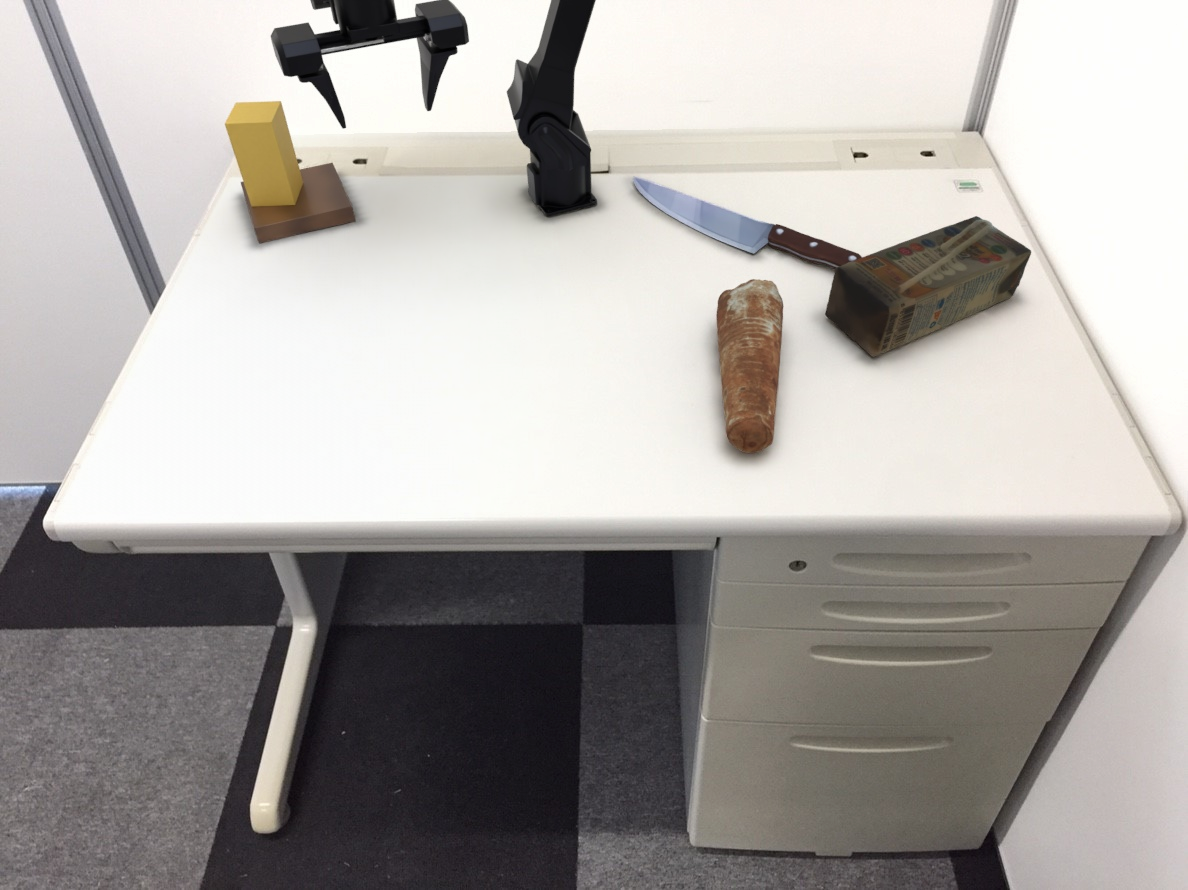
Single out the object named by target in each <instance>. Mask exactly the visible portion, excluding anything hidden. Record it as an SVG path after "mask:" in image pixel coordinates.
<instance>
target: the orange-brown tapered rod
mask: <svg viewBox="0 0 1188 890" xmlns="http://www.w3.org/2000/svg"><path fill="white" fill-rule="evenodd" d="M715 315H716V328H717V331H716V332H717V333H716V335H717V345H718V346H717V347H718V353H719V354H718V355H719V357H718V358H719V359H718V361H719V368H720V383H721V397H722V404H723V405H722V406H723V412H724V413H723V415H724V422H725V435H726V439H727V441H728V442H729V444H731V445H732V446H733V447H734V448H735V449H736V450H739V451H740V452H743V453H746V454H755V453H758V452H762V451H764V450H765V449H767V448H768V447H769V446H771V445H772V444H773V440H774V435H775V426H776V425H775V424H776V412H777V399H778V389H779V377H780V376H779V375H780V364H781V351H782V350H781V348H782V336H783V323H784V321H783V320H784V300H783V298H782V296H781V294H780V292H779V289H778V287H777V284H776V283H774V281H773V280H767V279H764V280H763V279H755V278H752V279H749V280H748V281H746V282H743V283H740V284H739V285H738V286H735V288H732V289H726V290H723V291H722V292H721V294H720V295H719V297H718V299H717V308H716V314H715Z"/></svg>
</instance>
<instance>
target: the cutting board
mask: <svg viewBox="0 0 1188 890" xmlns="http://www.w3.org/2000/svg"><path fill="white" fill-rule="evenodd" d="M299 169H300V172H301V176H302V180H303V185H302V187H301V190H300V193H299V196H298V199H297V201H296V204H295V205H282V206H255V207H252V206H251V203H250V200H249V197H248V194H247V191H246V188H245V185H244V182H243V181H240V186H241V190H242V193H243V196H244V200H245V204H246V206H247V210H248V213H249V216H250V219H251V223H252V227H253V230H254V233H255V235H256V239H257V242H258V244H262V243H266V242H272V241H275V240H279V239H283V238H284V239H285V238H288V237H292V236H296V235H301V234H305V233H310V232H314V231H318V230H322V229H327V228H332V227H336V226H340V225H344V224H349V223H354V222H356V217H355V212H354V208H353V205H352V203H351V201H350V198H349V196H348V194H347V191H346V189H345V187H344V185H343V182H342V179H341V178H340V176H339V173H338V171H337V169H336V167H335V165H334V163H333V162H328V163H323V164H319V165H314V166H310V167H305V168H299Z"/></svg>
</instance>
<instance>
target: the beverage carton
mask: <svg viewBox="0 0 1188 890" xmlns="http://www.w3.org/2000/svg"><path fill="white" fill-rule="evenodd" d="M1031 255H1032V250H1031V249H1030V248H1028V247H1027V246H1026V245H1024V244H1023V243H1021V242H1019V241H1017V240H1016V239H1014V238H1012V237H1011V236H1010V235H1007V234H1006V233H1005V232H1004V231H1002V230H1000V229H998V228H997V227H995V226H994V225H993V223H992V222H991V221H990V220H987V219H983V218H981V217H980V216H977V215H975V216H973V217H969V218H967V219H964V220H960V221H958V222H955V223H953V224H949V225H947V226H944V227H941V228H938V229H936V230H933V231H929V232H928V233H924V234H922V235H918V236H916V237H914V238H913V237H912V238H910V239H907V240H905V241H902V242H899V243H897V244H894V245H892V246H889V247H886V248H884V249H881V250H879V251H875V252H874V253H871V254H867V255H864V256H861V257H862V258H860V259H857V260H855V261H852V262H848V263H847V264H845V265H842V266H839V267H837V268H836V269H835V270H834V275H833V277H832V281H831V287H830V291H829V295H828V301H827V304H826V309H825V312H824V315H825V317H827V318H828V319H829V320H830V321H831V322H832V323H833V324H834V325H836V326H837V327H838V328H840V329H841V331H843V332H844V333H845V334H846V335H848V336H849V338H851V340H853V341H854V342H855V343H857V345H858V346H860V347H861V348H862V349H864V351H865V352H867V353H868V355H869V356H871V357H877V356H878V355H881V354H883V353H886V352H889V351H892V350H893V349H895V348H899V347H901V346H904V345H905V344H908V343H910V342H912V341H915V340H917V339H920V338H921V337H924V336H926V335H929V334H931V333H934V332H935V331H937V330H940V329H942V328H944V327H947V326H949V325H951V324H952V325H953V324H954V323H956V322H957V321H960V320H963V319H965V318H968V317H970V316H973V315H975V314H977V313H979V312H981V311H984V310H986V309H988V308H991V307H992V306H995V305H996V304H1000V303H1002V302H1003V301H1006V300H1009V299H1011V298H1012V297H1013V296H1014V295H1015V293H1016V290H1017V288H1018V287H1019V286H1020V284H1021V280H1022V278H1023V276H1024V273H1025V270H1026V267H1027V264H1028V262H1029V260H1030V257H1031Z"/></svg>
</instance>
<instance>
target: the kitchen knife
mask: <svg viewBox="0 0 1188 890" xmlns="http://www.w3.org/2000/svg"><path fill="white" fill-rule="evenodd" d="M632 180H633V183H634V186H635V187H636V189H637V190H638V192H639V193H640V194H641V195H642V196H643V197H644V198H645V199H646V200H647V201H649V202H650V203H651V205H653V206H654V207H656V208H658V209H659V210H661V212H664V214H666V215H668V216H670V217H672V218H673V219H675V220H677V221H678V222H680V223H682V224H684V225H686V226H688V227H689V228H691V229H694V230H695V231H698V232H700V233H701V234H704V235H706V236H708V237H710V238H713V239H715V240H717V241H720V242H722V243H724V244H727V245H730V246H732V247H735V248H737V249H739V250H743V251H745V252H748V253H751V254H755V253H757V252H758V251H759V250H761V249H762V248H763V247H764V246H766V245H767V244H768V246H769V247H770V248H773V249H775V250H779V251H781V252H785V253H789V254H791V255H793V256H795V257H797V258H800V259H801V260H803V261H806V262H808V263H813V264H818V265H823V266H826V267H829V268H832V269H835V270H836V268H837V267H839V266H842V265H845V264H847V263H848V262H852V261H855V260H857V259H860V258H862V257H863V256H862V255H861V254H859V253H858V252H855V251H852V250H849V249H847V248H844V247H842V246H839V245H836V244H833V243H831V242H828V241H825V240H824V239H820V238H817V237H813V236H811V235H808V234H805V233H803V232H800V231H797V230H795V229H793V228H789V227H787V226H785V225H782V224H778V223H775V224H774V223H769V222H765V221H762V220H759V219H756V218H753V217H750V216H747V215H745V214H742V213H740V212H736V211H734V210H731V209H728V208H725V207H724V206H723V207H722V206H719V205H717V204H715V203H712V202H708V201H706V200H703V199H701V198H698V197H695V196H692V195H689V194H687V193H684V192H680V191H679V190H675V189H672V188H670V187H667V186H664V185H661V184H659V183H657V182H654V181H651V180H648V179H645V178H642V177H638V176H633V178H632Z"/></svg>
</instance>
